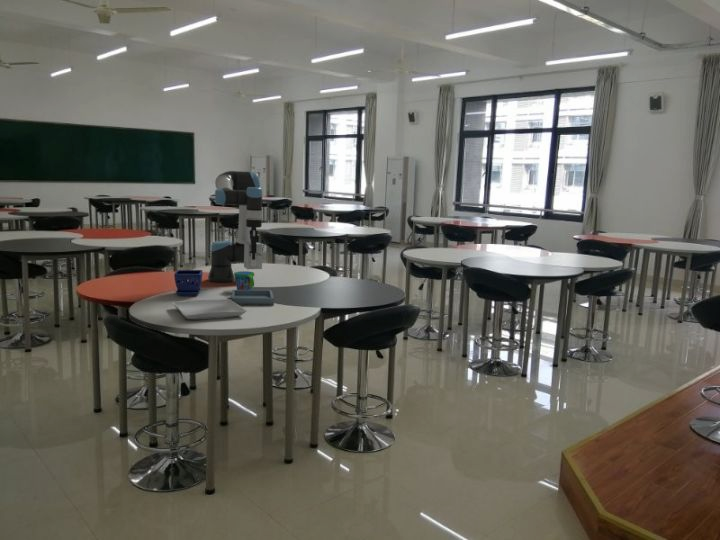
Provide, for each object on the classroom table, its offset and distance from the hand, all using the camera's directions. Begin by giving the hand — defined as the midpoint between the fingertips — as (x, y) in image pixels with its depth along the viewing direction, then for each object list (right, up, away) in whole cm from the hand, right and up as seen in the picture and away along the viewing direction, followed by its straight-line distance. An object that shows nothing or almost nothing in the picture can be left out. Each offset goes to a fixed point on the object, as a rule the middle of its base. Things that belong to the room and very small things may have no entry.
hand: (253, 264), depth 272 cm
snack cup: (-10, -14, +25) cm, 31 cm away
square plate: (-15, -23, -25) cm, 37 cm away
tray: (-1, -18, +3) cm, 18 cm away
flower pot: (-35, -15, +11) cm, 40 cm away
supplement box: (0, -2, 0) cm, 2 cm away
